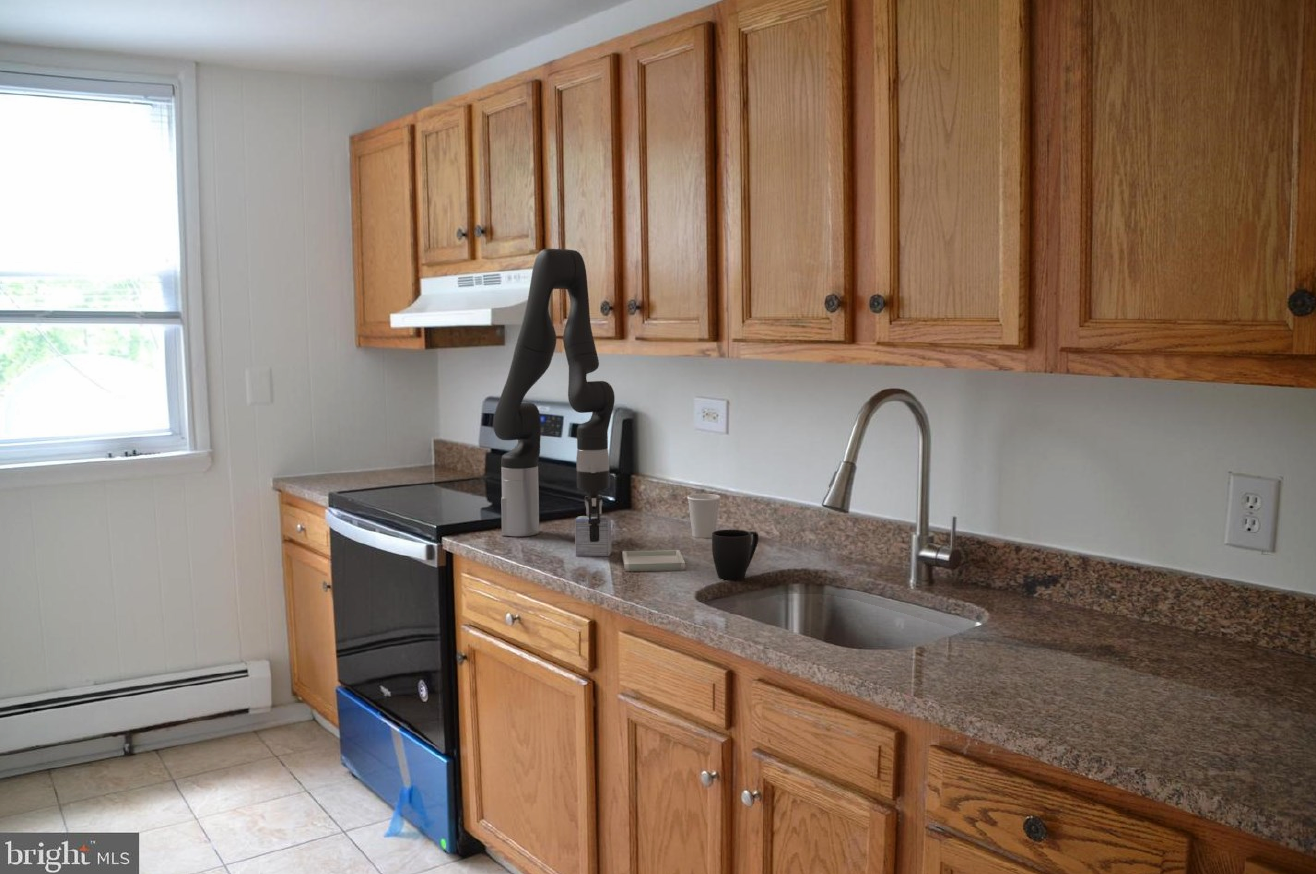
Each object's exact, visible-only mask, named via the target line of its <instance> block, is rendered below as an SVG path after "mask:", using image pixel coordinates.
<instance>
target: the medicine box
mask: <svg viewBox="0 0 1316 874" xmlns="http://www.w3.org/2000/svg"><path fill="white" fill-rule="evenodd" d="M611 517H612V516H606V515H605V516H602V515H601V517H600V525H599V541H598V542H590V532H589V524H588V520H589V518H588V517H587V515H586V516H585V515H580V516H579V515H578V516H577V517H576V518H575V519H574V542H575V545H574V547H575V548H574V549H575V550H574V551H575V552H574V553H575V556H576V557H610V555H611V553H612V518H611ZM591 519H597V517H591Z"/></svg>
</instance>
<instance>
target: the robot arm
mask: <svg viewBox="0 0 1316 874" xmlns="http://www.w3.org/2000/svg"><path fill="white" fill-rule="evenodd" d="M585 263H586V262H585V261H584V258H583V256H582V254H581V253H580V252H579V251H578V250H574V249H568V248H567V249H564V248H544V249H541V250H540V251H539V252H538V254H537V256H536V257H535V260H534V262H533V267H532V272H531V276H530V285H529V291H528V296H527V301H526V302H527V303H526V307H525V311H524V315H523V320H522V323H521V326H520V329H519V333H518V336H517V339H516V344H515V348H514V351H513V356H512V360H511V365H510V367H509V371H508V375H507V378H506V381H505V384H504V386H503V389H502V392H501V395H500V397H499V399H498V403H497V405H496V408H495V411H494V415H493V423H492V425H493V432H494V435H495V437H497V439H499V440H502V441H517V444H516V446H514V448H512V449H511V450H509V451H508V452H506V453H504V454H503V455H501V460H500V461H501V463H500V466H501V467H500V468H501V498H500V504H501V505H500V506H501V536H509V537H529V536H530V537H531V536H535V535H538V534H539V533H540V513H539V512H540V508H539V507H540V506H539V505H540V501H539V495H540V494H539V458H540V453H541V438H542V437H541V434H542V433H541V432H542V420H541V419H542V418H541V413H540V410H539V408H538V407H537V405H536V404H535V403H533V402H523V401H524V399H525V397H526V395H527V393H528V392H529V391H530V389H531V388H532V387H533V386H534V385H535V384H537V382H538V381H539V379H541V378H542V377H543V375H545V373H546V371H548V368H549V367H550V365H551V364H552V360H553V356H554V352H555V350H556V345H557V333H556V330H555V326H554V323H553V321H552V319H551V316H550V315H551V314H550V310H549V306H550V305H549V304H550V300H551V296H552V292H553V291H554V290H556V289H557V290H567V293H568V297H569V300H570V301H569V303H570V307H569V313H568V316H567V320H566V322H565V327H564V329H563V330H564V331H563V335H562V337H563V338H562V339H563V348H564V353H565V357H566V361H567V365H568V390H567V398H568V403H569V406H570V407H571V408H572V409H573V410H574V411H575V412H576V413H581V414H584V413H585V414H586V413H592V414H591V416H590V418H589V420H588V421H586V422H583V423H580V424H579V425H578V426H577V430H576V443H577V444H576V447H577V449H576V450H577V451H576V461H575V462H576V463H575V464H576V488H577V489H578V490H580V491H586V492H587V495H586V496H584V506H585V508H586V509H585V513H586V516H587V517H588V518H589V520H588V524H589V532H590V542H598V541H599V525H600V517H601V516H602V512H603V511H602V506H603V496H602V495H599V494H600V493H599V492H600V491H604V490H607V489H608V490H609V488H610V483H611V482H610V455H609V449H608V448H609V444H608V443H609V440H608V439H609V436H608V434H609V433H608V431H609V426H610V423H611V418H612V416H613V415H612V414H613V411H614V407H615V406H614V405H615V399H616V398H615V397H616V396H615V392H614V389H613V386H612V385H611V384H610V383H609V382H607V381H604V380H595V381H593V380H592V381H588V380H587V375H588V374H590V373H591V374H592V373H593V372H595V371H597V370H598V369H599V365H600V361H599V356H598V353H597V348H596V344H595V340H594V336H593V331H592V325H591V316H590V300H589V299H590V298H589V289H588V288H589V287H588V278H587V277H588V275H587V268H586V264H585ZM591 517H597V519H591Z"/></svg>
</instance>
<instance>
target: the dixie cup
mask: <svg viewBox="0 0 1316 874" xmlns="http://www.w3.org/2000/svg"><path fill="white" fill-rule="evenodd" d="M721 498H722V497H721V495H719V494H714V493H712V494H711V493H694V494H688V495H687V502H688V509H689V517H690V518H689V519H690V525H691V534H692V537H694V538H697V539H712V533H713V532H715V531H717V523H718V515H719V507H720V500H721Z"/></svg>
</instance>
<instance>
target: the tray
mask: <svg viewBox="0 0 1316 874" xmlns="http://www.w3.org/2000/svg"><path fill="white" fill-rule="evenodd" d="M621 557H622V562H623V567H624V568H623V569H624V572H652V571H653V572H655V571H656V572H657V571H658V572H660V571H661V572H662V571H663V572H664V571H686V562H685V560H684V558H683V555H682V552H681V551H680V549H667V550H661V549H660V550H622V556H621Z"/></svg>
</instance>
